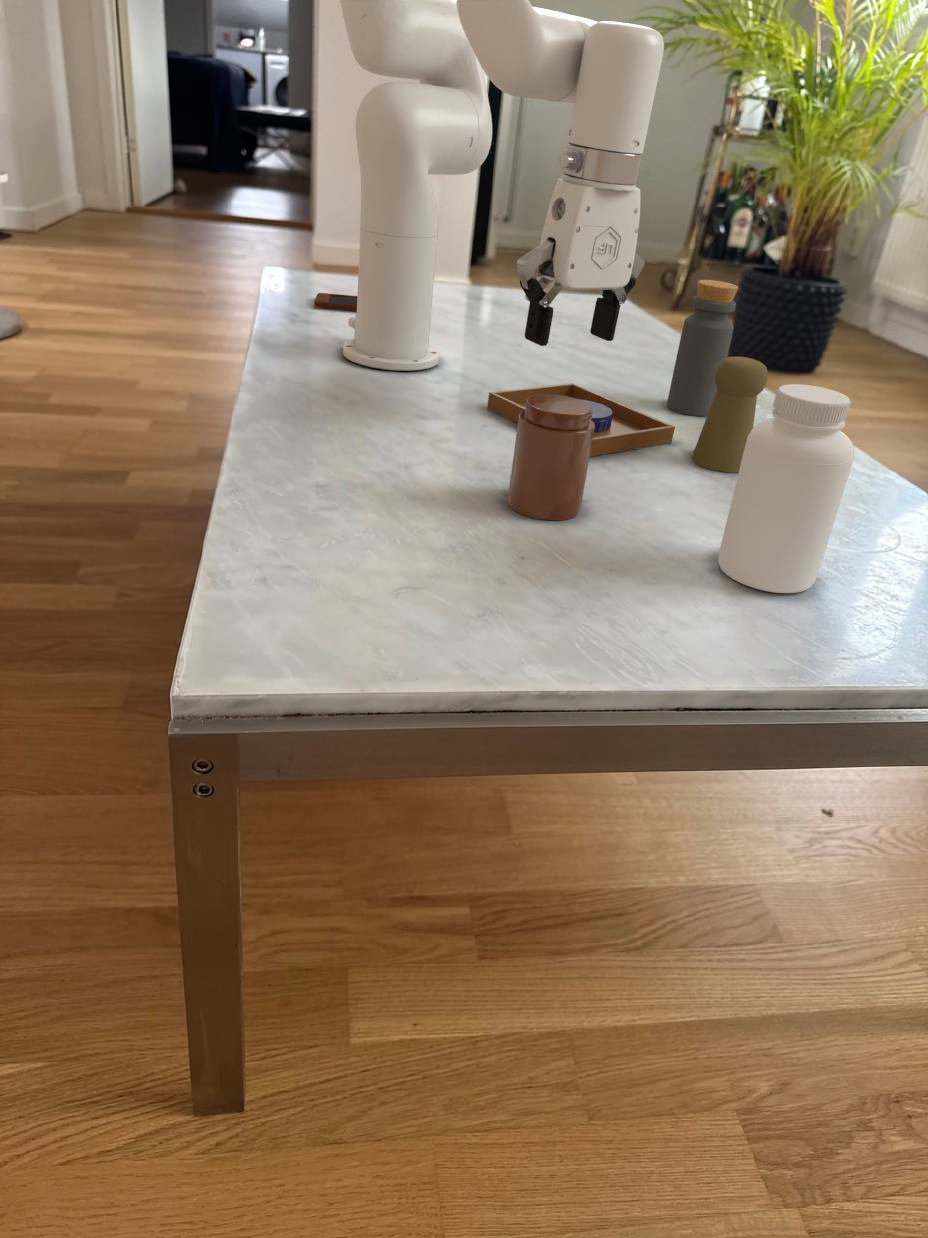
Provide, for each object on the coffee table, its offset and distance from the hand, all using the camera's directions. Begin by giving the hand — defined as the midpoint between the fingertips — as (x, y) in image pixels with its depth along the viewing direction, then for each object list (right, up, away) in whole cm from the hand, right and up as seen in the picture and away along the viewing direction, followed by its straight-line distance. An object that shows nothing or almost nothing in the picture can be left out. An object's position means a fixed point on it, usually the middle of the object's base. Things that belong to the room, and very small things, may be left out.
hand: (569, 339), depth 103 cm
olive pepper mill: (+16, -14, -2) cm, 21 cm away
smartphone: (-27, +18, +46) cm, 56 cm away
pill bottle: (+13, -27, -26) cm, 39 cm away
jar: (-4, -20, -18) cm, 27 cm away
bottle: (+17, -5, +14) cm, 22 cm away
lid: (+2, -7, +3) cm, 8 cm away
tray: (+1, -9, +4) cm, 10 cm away
